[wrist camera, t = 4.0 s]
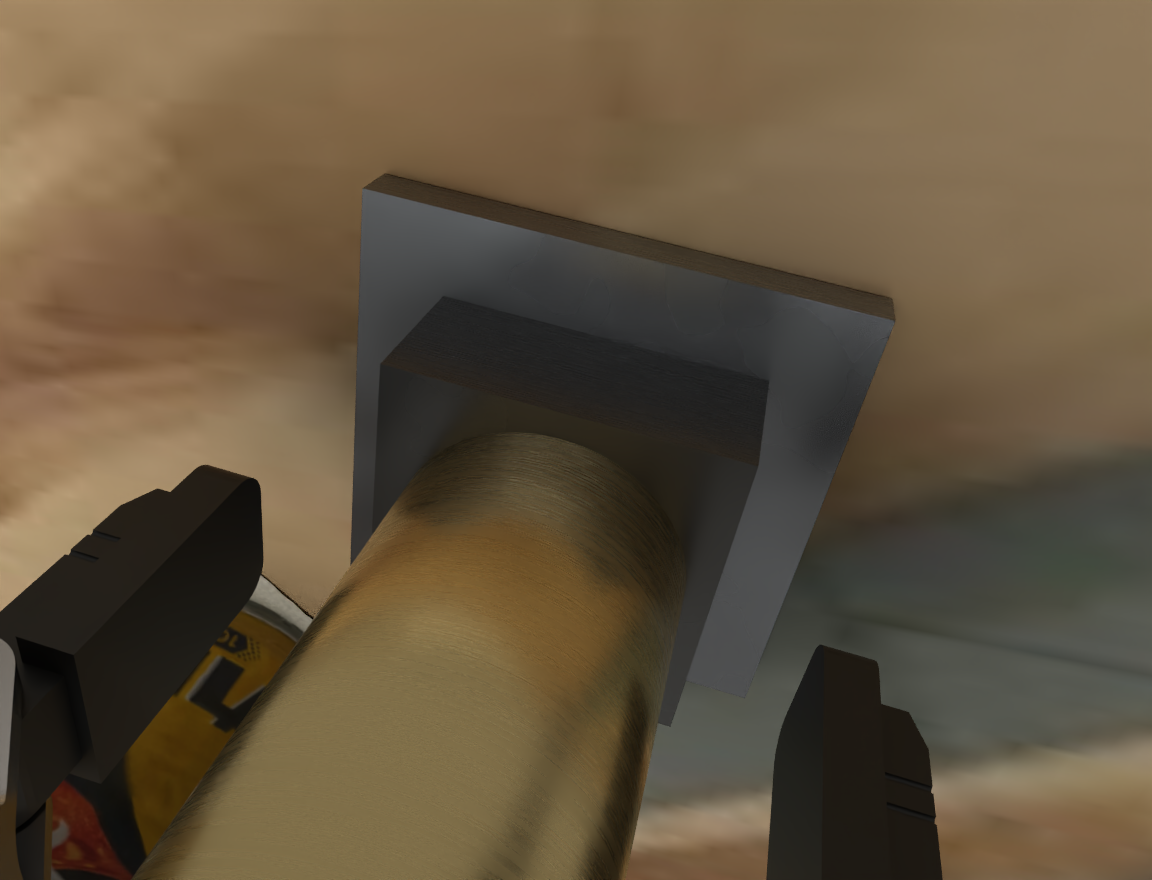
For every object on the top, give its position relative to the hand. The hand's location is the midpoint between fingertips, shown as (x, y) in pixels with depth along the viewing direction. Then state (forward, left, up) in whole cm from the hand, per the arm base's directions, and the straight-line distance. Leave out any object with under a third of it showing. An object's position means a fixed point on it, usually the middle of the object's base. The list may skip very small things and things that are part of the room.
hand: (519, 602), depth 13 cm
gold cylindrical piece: (0, 0, -3) cm, 3 cm away
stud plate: (0, 0, -4) cm, 4 cm away
